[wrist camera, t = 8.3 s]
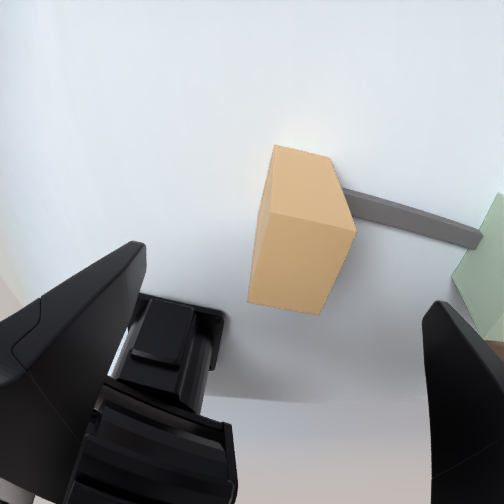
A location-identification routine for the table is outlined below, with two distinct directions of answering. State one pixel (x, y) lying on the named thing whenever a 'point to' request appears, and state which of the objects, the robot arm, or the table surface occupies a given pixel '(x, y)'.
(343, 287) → the table surface
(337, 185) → the block dumbbell
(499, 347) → the frame
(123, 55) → the table surface
